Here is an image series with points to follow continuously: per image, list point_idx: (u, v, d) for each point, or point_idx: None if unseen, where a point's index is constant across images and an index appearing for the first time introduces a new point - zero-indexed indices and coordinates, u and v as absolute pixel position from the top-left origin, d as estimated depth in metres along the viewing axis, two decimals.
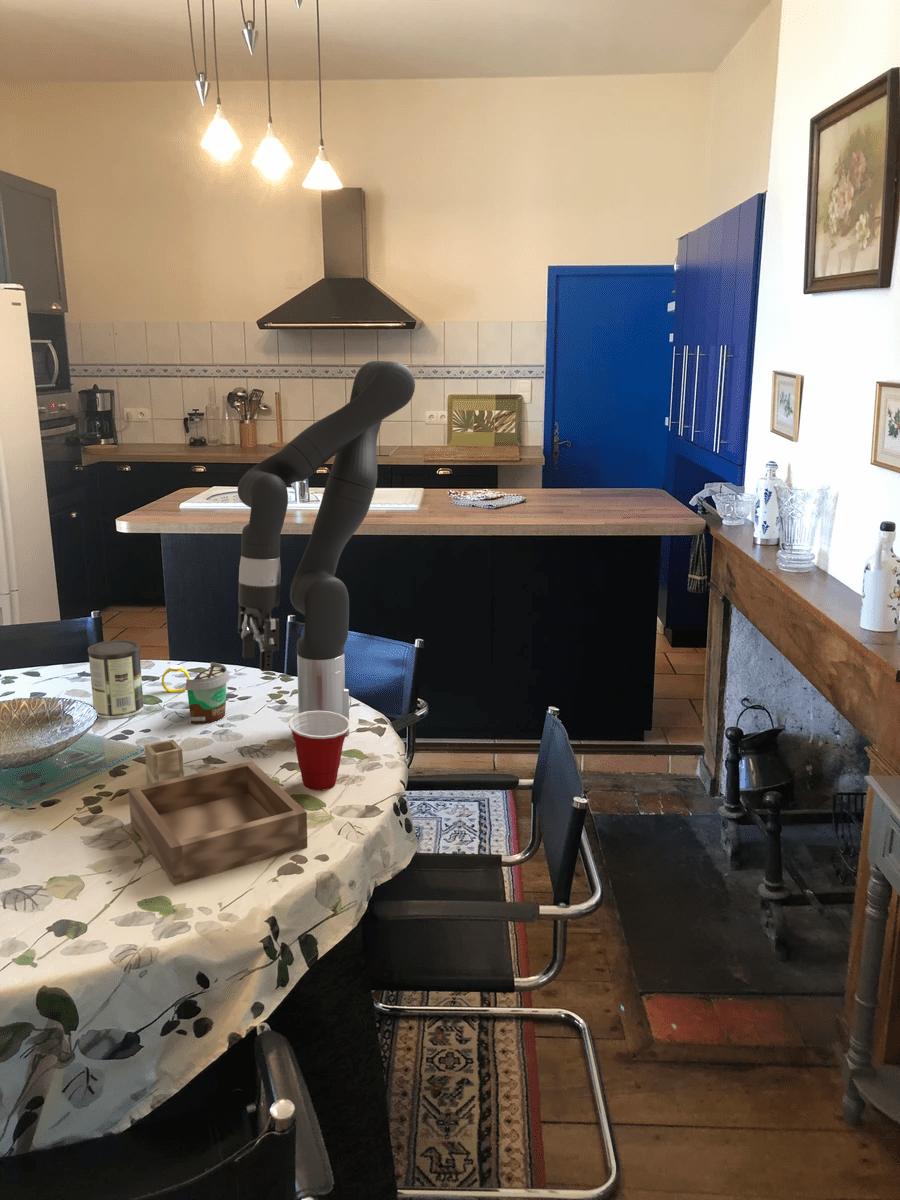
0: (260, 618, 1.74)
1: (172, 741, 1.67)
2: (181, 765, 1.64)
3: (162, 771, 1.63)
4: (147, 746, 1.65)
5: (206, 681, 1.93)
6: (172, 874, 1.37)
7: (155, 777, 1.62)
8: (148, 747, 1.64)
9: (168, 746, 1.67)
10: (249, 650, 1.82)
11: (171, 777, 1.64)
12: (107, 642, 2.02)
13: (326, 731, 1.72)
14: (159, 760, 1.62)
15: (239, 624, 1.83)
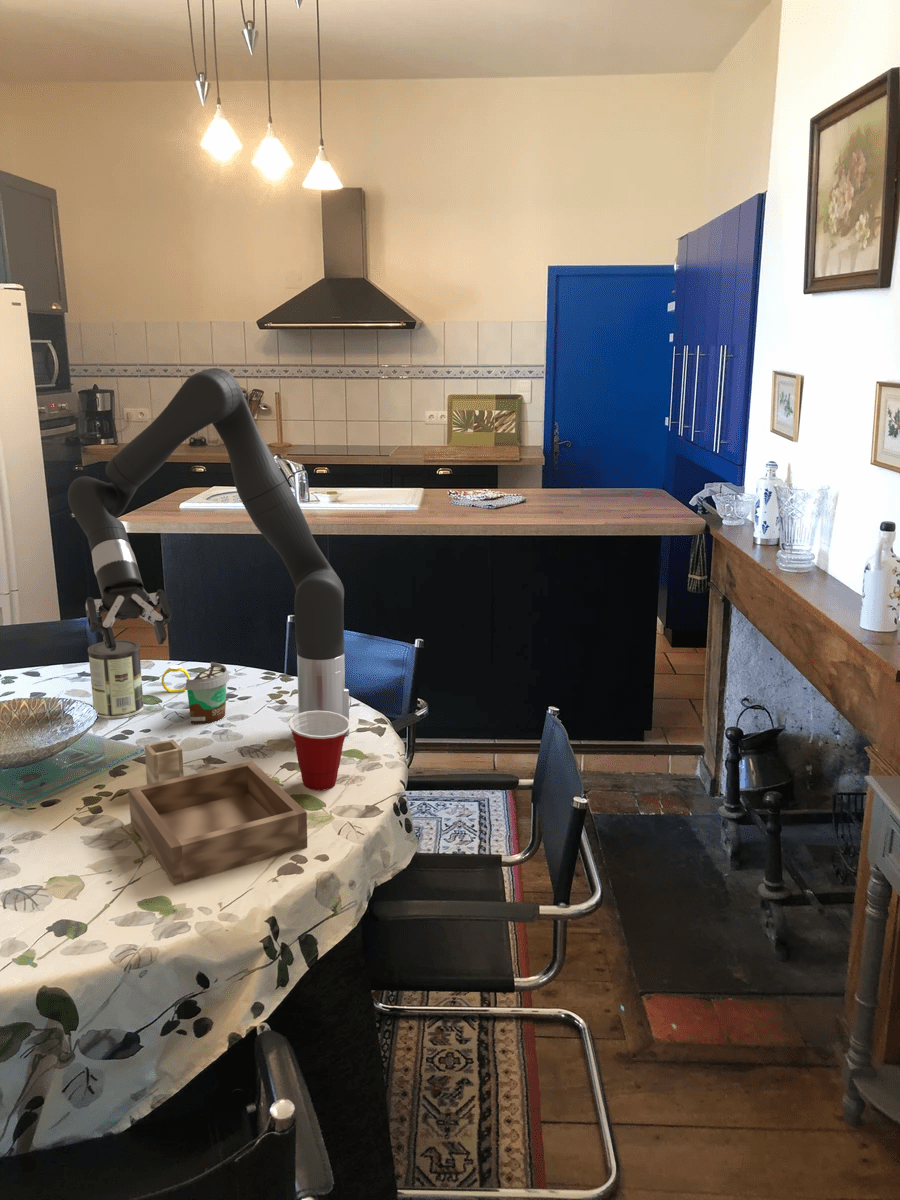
0: None
1: (172, 741, 1.67)
2: (181, 765, 1.64)
3: (162, 771, 1.63)
4: (147, 746, 1.65)
5: (206, 681, 1.93)
6: (172, 874, 1.37)
7: (155, 777, 1.62)
8: (148, 747, 1.64)
9: (168, 746, 1.67)
10: (157, 634, 1.73)
11: (171, 777, 1.64)
12: None
13: (326, 731, 1.72)
14: (159, 760, 1.62)
15: None
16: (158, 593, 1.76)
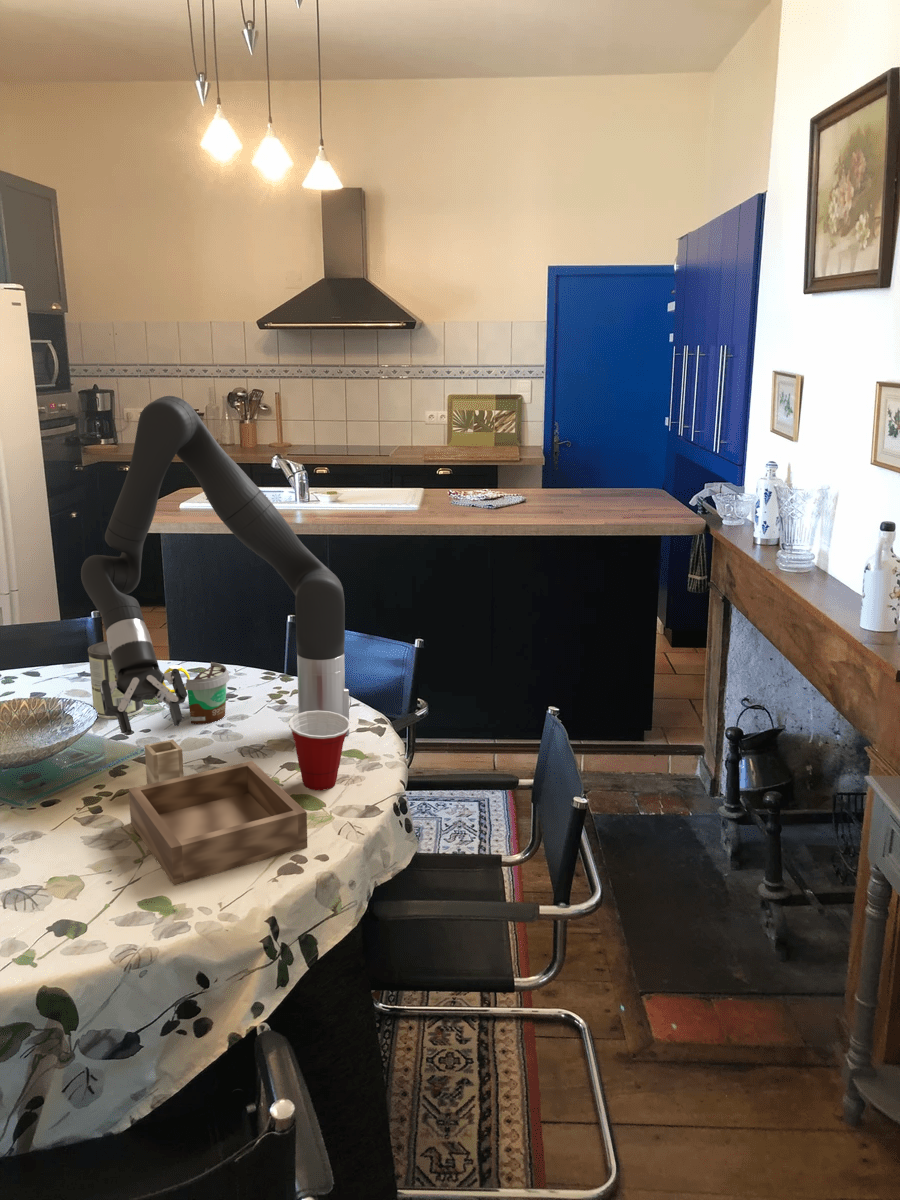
0: None
1: (172, 741, 1.67)
2: (181, 765, 1.64)
3: (162, 771, 1.63)
4: (147, 746, 1.65)
5: (206, 681, 1.93)
6: (172, 874, 1.37)
7: (155, 777, 1.62)
8: (148, 747, 1.64)
9: (168, 746, 1.67)
10: (173, 716, 1.71)
11: (171, 777, 1.64)
12: None
13: (326, 731, 1.72)
14: (159, 760, 1.62)
15: None
16: (173, 673, 1.74)
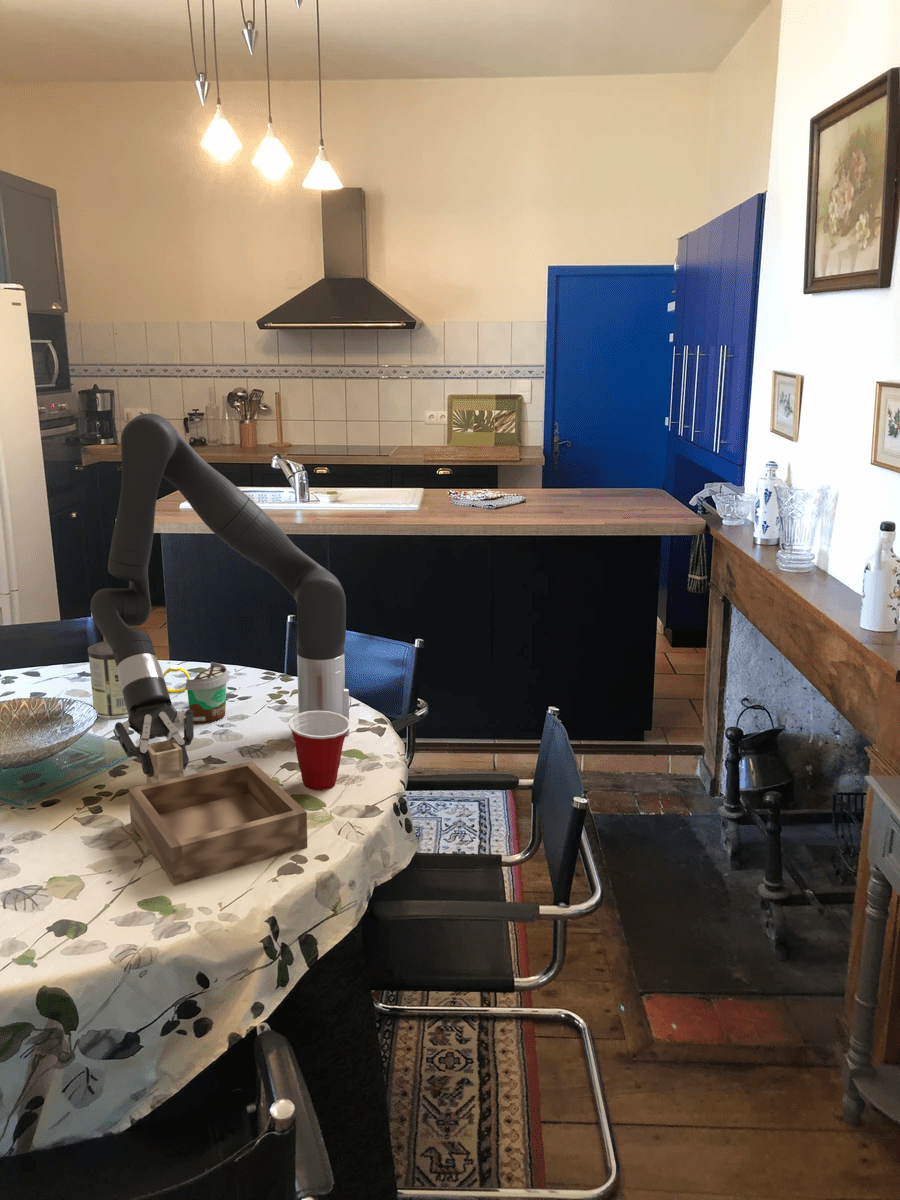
0: None
1: (172, 741, 1.67)
2: (181, 765, 1.64)
3: (162, 771, 1.63)
4: None
5: (206, 681, 1.93)
6: (172, 874, 1.37)
7: (155, 777, 1.62)
8: (148, 747, 1.64)
9: (168, 746, 1.67)
10: None
11: (171, 777, 1.64)
12: None
13: (326, 731, 1.72)
14: (159, 760, 1.62)
15: None
16: (186, 713, 1.70)
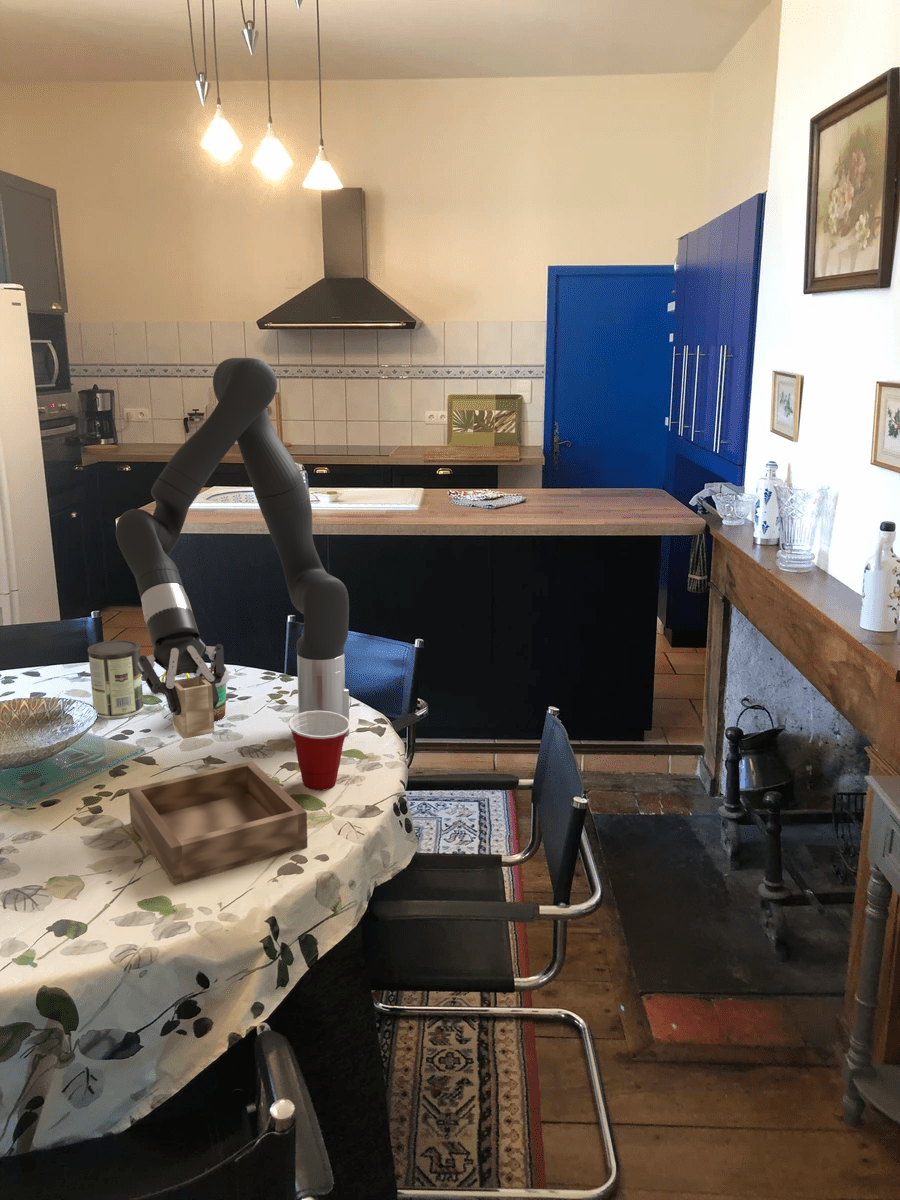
0: None
1: (201, 677, 1.52)
2: (211, 703, 1.50)
3: (190, 708, 1.48)
4: None
5: None
6: (172, 874, 1.37)
7: (182, 715, 1.48)
8: (175, 683, 1.50)
9: (196, 683, 1.52)
10: None
11: (200, 715, 1.49)
12: (107, 642, 2.02)
13: (326, 731, 1.72)
14: (187, 696, 1.47)
15: None
16: (216, 648, 1.55)
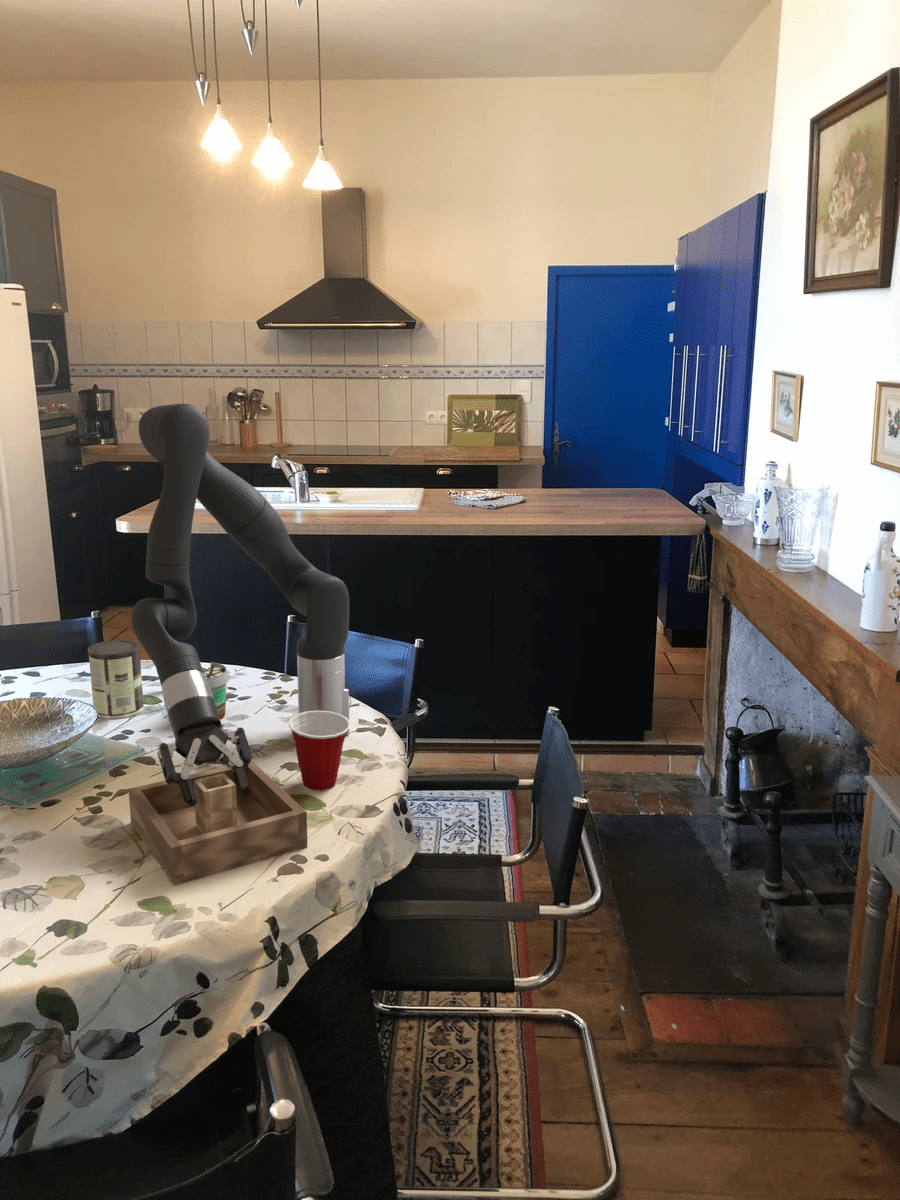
0: None
1: (224, 775, 1.52)
2: (234, 802, 1.49)
3: (214, 809, 1.48)
4: (197, 781, 1.49)
5: None
6: (172, 874, 1.37)
7: (206, 816, 1.47)
8: (198, 782, 1.49)
9: (219, 781, 1.52)
10: (237, 783, 1.51)
11: (223, 815, 1.49)
12: (107, 642, 2.02)
13: (326, 731, 1.72)
14: (211, 797, 1.47)
15: None
16: (238, 732, 1.54)
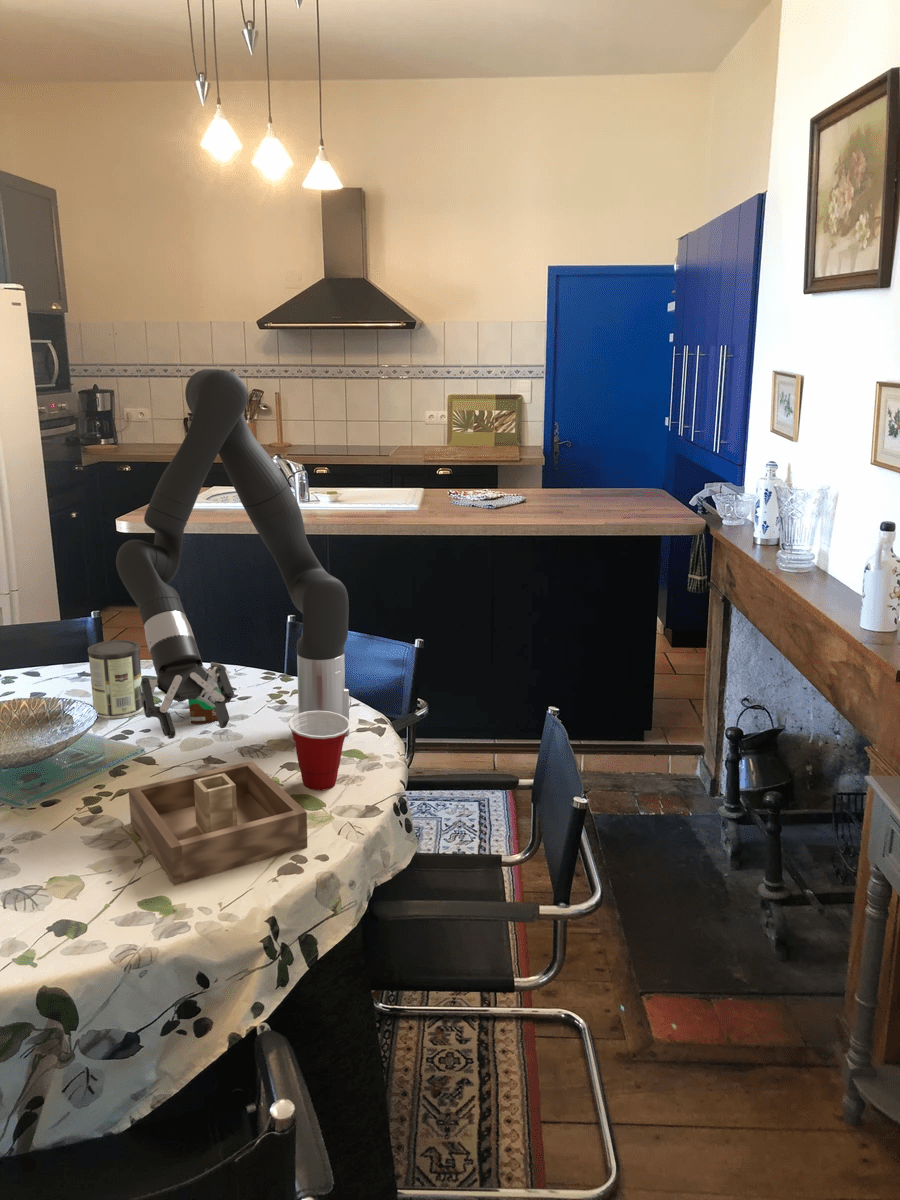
0: None
1: (224, 775, 1.52)
2: (234, 802, 1.49)
3: (214, 809, 1.48)
4: (197, 781, 1.49)
5: (206, 681, 1.93)
6: (172, 874, 1.37)
7: (206, 816, 1.47)
8: (198, 782, 1.49)
9: (219, 781, 1.52)
10: (219, 717, 1.56)
11: (223, 815, 1.49)
12: (107, 642, 2.02)
13: (326, 731, 1.72)
14: (211, 797, 1.47)
15: None
16: (218, 670, 1.59)
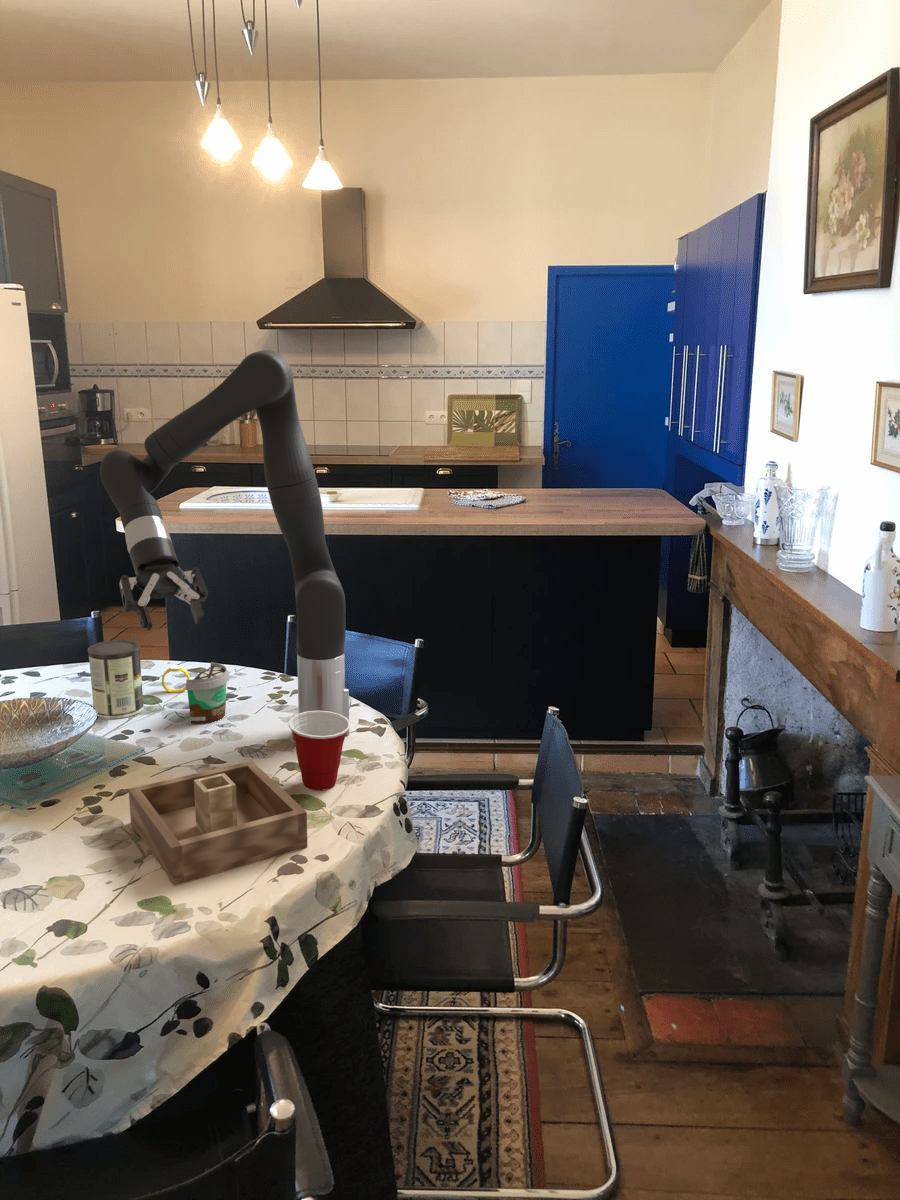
0: None
1: (224, 775, 1.52)
2: (234, 802, 1.49)
3: (214, 809, 1.48)
4: (197, 781, 1.49)
5: (206, 681, 1.93)
6: (172, 874, 1.37)
7: (206, 816, 1.47)
8: (198, 782, 1.49)
9: (219, 781, 1.52)
10: (194, 613, 1.66)
11: (223, 815, 1.49)
12: (107, 642, 2.02)
13: (326, 731, 1.72)
14: (211, 797, 1.47)
15: None
16: (194, 571, 1.69)
